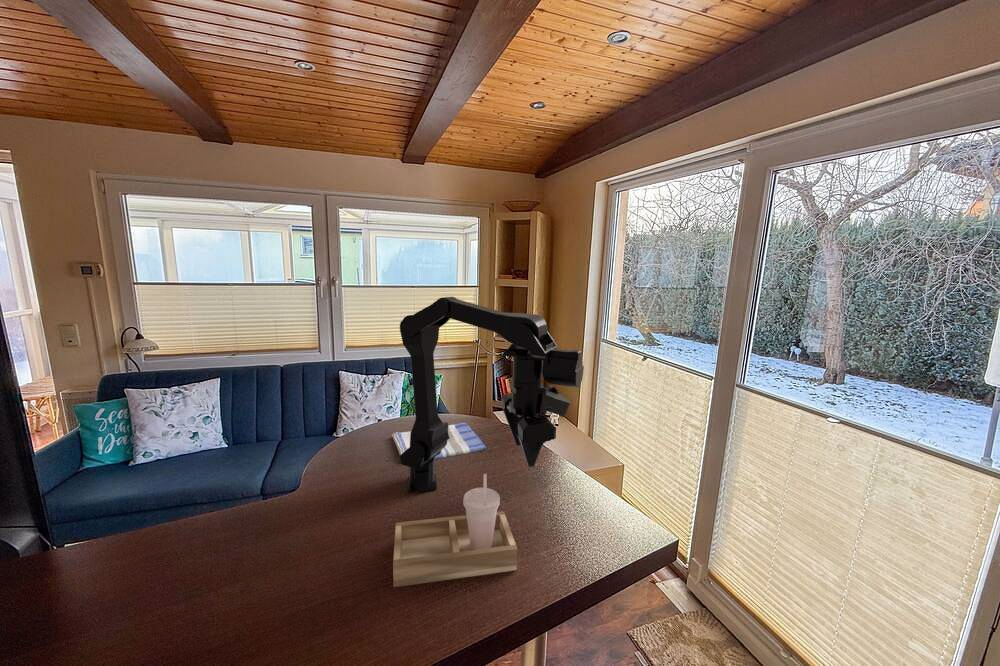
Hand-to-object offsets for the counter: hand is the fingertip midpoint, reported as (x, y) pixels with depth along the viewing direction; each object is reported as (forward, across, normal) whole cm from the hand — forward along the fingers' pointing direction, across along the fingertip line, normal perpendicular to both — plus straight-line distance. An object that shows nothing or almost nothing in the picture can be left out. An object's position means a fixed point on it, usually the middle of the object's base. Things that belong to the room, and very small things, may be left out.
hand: (524, 455), depth 81 cm
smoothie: (+12, -9, +10) cm, 18 cm away
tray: (+13, -10, +15) cm, 22 cm away
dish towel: (+14, +36, +15) cm, 41 cm away
